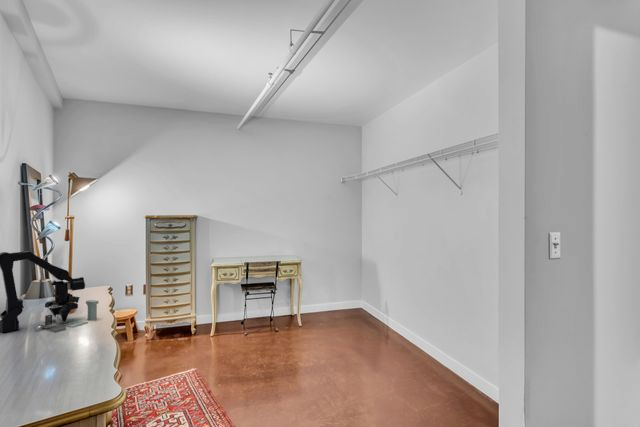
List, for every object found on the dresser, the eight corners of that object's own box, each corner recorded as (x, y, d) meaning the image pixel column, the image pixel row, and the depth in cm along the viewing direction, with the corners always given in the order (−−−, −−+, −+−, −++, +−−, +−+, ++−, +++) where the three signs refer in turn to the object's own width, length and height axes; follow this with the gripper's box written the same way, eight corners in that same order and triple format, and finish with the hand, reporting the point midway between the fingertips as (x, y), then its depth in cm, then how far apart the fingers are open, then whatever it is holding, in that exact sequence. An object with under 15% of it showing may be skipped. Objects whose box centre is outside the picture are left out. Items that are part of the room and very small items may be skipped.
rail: (55, 333, 166) (55, 328, 166) (38, 329, 171) (38, 325, 171) (66, 329, 171) (66, 325, 171) (49, 326, 176) (49, 322, 176)
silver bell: (59, 324, 179) (59, 313, 179) (53, 323, 181) (53, 312, 181) (68, 322, 183) (68, 311, 184) (63, 321, 185) (63, 310, 185)
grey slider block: (38, 330, 166) (38, 319, 166) (33, 329, 167) (33, 318, 167) (55, 325, 173) (55, 314, 173) (50, 325, 175) (50, 314, 175)
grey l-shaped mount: (72, 327, 174) (72, 307, 174) (62, 325, 177) (62, 306, 177) (99, 319, 188) (99, 300, 188) (90, 318, 191) (90, 299, 191)
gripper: (88, 290, 186) (87, 318, 186) (66, 287, 193) (65, 315, 193) (66, 295, 176) (66, 324, 176) (44, 292, 183) (44, 320, 183)
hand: (61, 320), depth 182 cm, fingers closed on silver bell, 5 cm apart
